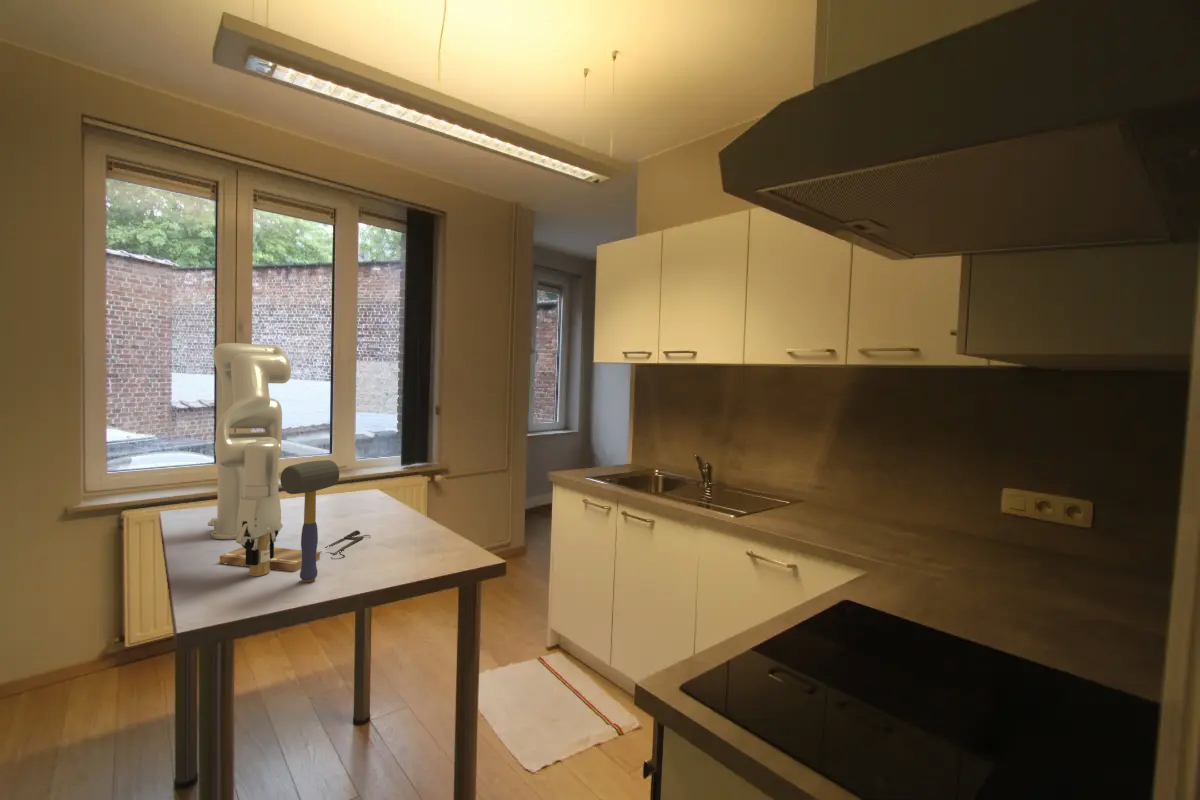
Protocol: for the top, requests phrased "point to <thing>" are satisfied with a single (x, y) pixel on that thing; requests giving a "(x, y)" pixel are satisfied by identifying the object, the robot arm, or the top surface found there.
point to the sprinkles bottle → (262, 556)
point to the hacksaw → (347, 544)
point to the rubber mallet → (309, 504)
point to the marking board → (281, 560)
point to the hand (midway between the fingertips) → (259, 560)
